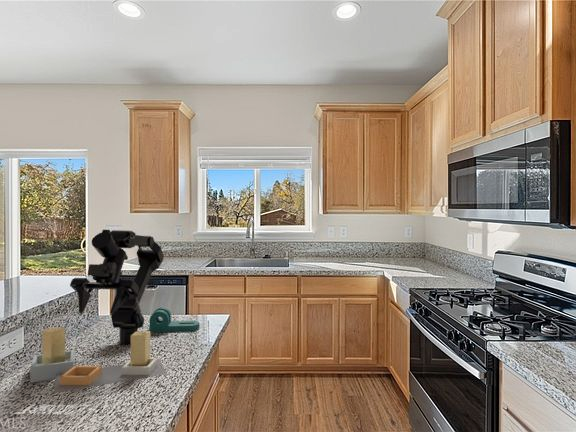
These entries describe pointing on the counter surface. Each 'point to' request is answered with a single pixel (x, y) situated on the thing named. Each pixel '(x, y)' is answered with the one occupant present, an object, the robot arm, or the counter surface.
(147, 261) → the robot arm
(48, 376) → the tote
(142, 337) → the block
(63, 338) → the block
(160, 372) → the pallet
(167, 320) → the bracket
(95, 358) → the counter surface
